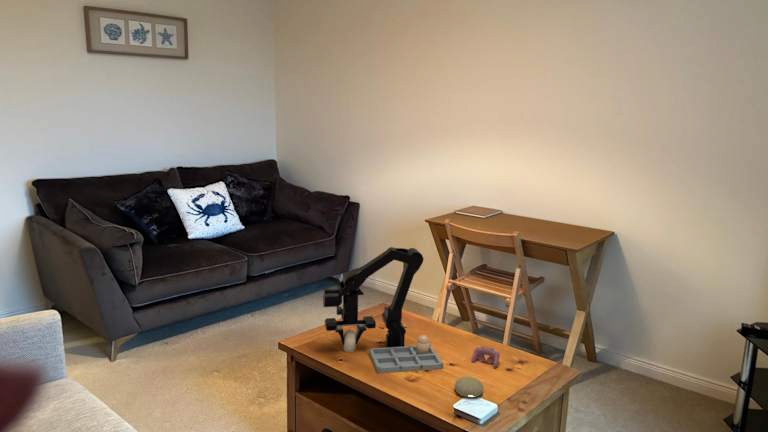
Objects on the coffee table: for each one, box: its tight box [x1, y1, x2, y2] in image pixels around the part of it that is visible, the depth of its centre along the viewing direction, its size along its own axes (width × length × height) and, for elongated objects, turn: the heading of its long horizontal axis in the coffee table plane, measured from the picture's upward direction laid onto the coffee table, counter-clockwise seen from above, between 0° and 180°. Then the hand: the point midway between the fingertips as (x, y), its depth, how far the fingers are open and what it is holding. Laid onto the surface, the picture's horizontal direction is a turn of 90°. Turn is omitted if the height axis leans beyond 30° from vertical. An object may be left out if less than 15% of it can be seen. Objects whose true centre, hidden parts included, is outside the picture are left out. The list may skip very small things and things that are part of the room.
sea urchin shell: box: [454, 376, 484, 397], centre depth 196 cm, size 9×8×8 cm
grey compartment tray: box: [368, 344, 444, 374], centre depth 216 cm, size 24×16×2 cm
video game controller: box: [471, 346, 501, 369], centre depth 217 cm, size 10×5×7 cm, turn 66°
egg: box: [343, 329, 357, 353], centre depth 224 cm, size 5×5×8 cm
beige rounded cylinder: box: [416, 334, 430, 355], centre depth 221 cm, size 5×5×8 cm
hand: (349, 344), depth 225 cm, fingers closed on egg, 5 cm apart
